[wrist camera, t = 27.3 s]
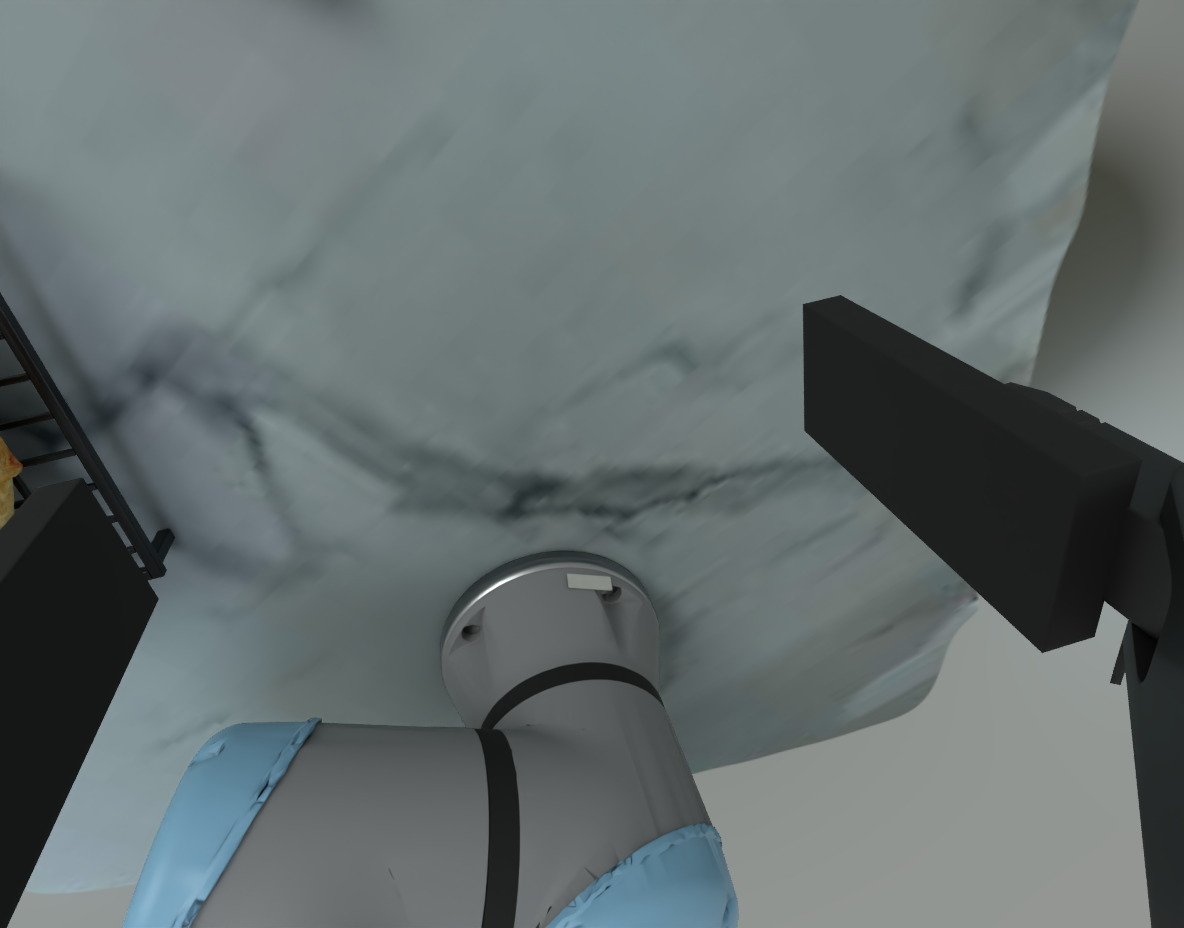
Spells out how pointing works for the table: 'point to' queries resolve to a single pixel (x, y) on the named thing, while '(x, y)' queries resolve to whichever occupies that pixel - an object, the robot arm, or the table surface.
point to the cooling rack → (75, 448)
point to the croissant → (7, 482)
